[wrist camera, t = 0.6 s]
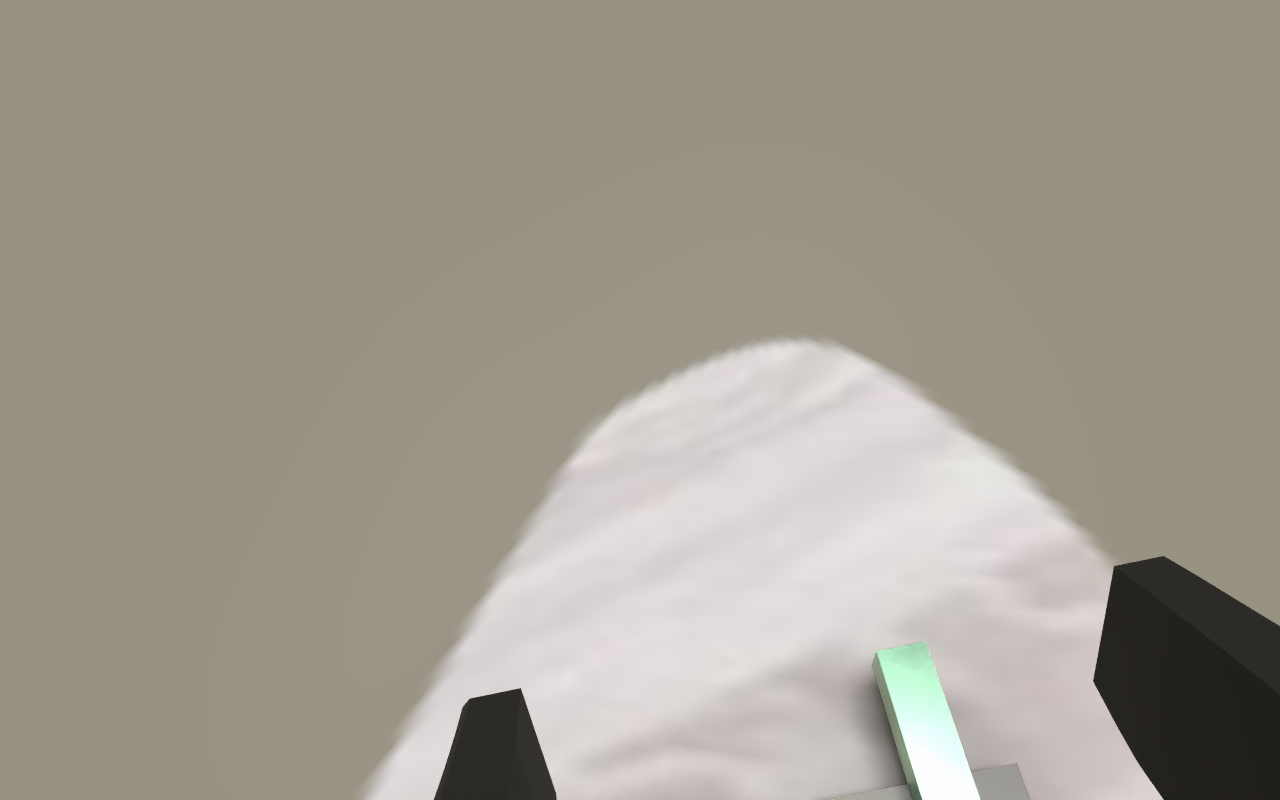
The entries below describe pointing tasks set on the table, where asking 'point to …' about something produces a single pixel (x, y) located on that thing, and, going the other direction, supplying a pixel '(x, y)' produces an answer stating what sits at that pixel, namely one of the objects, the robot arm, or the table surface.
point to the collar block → (995, 786)
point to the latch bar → (922, 725)
